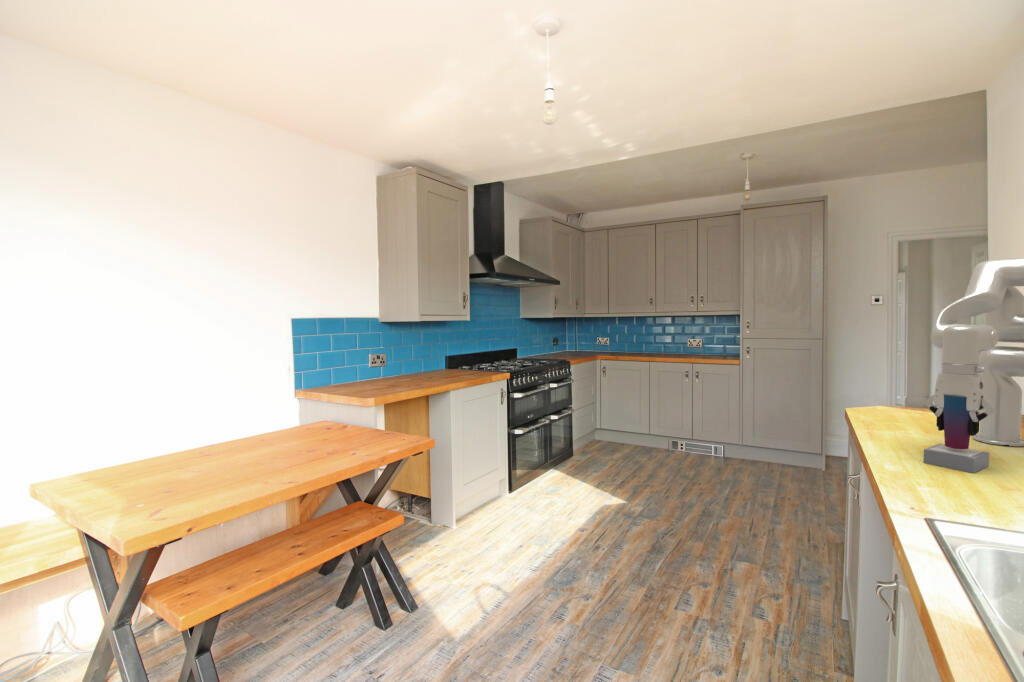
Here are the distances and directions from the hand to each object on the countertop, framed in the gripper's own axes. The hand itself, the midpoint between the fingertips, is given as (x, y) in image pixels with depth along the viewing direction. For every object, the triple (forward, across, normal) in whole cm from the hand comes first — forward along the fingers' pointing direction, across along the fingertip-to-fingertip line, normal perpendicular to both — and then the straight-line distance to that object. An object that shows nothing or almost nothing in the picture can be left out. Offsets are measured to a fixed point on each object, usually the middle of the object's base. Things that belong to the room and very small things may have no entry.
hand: (957, 431), depth 139 cm
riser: (+9, 0, 0) cm, 9 cm away
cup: (+5, 0, 0) cm, 5 cm away
